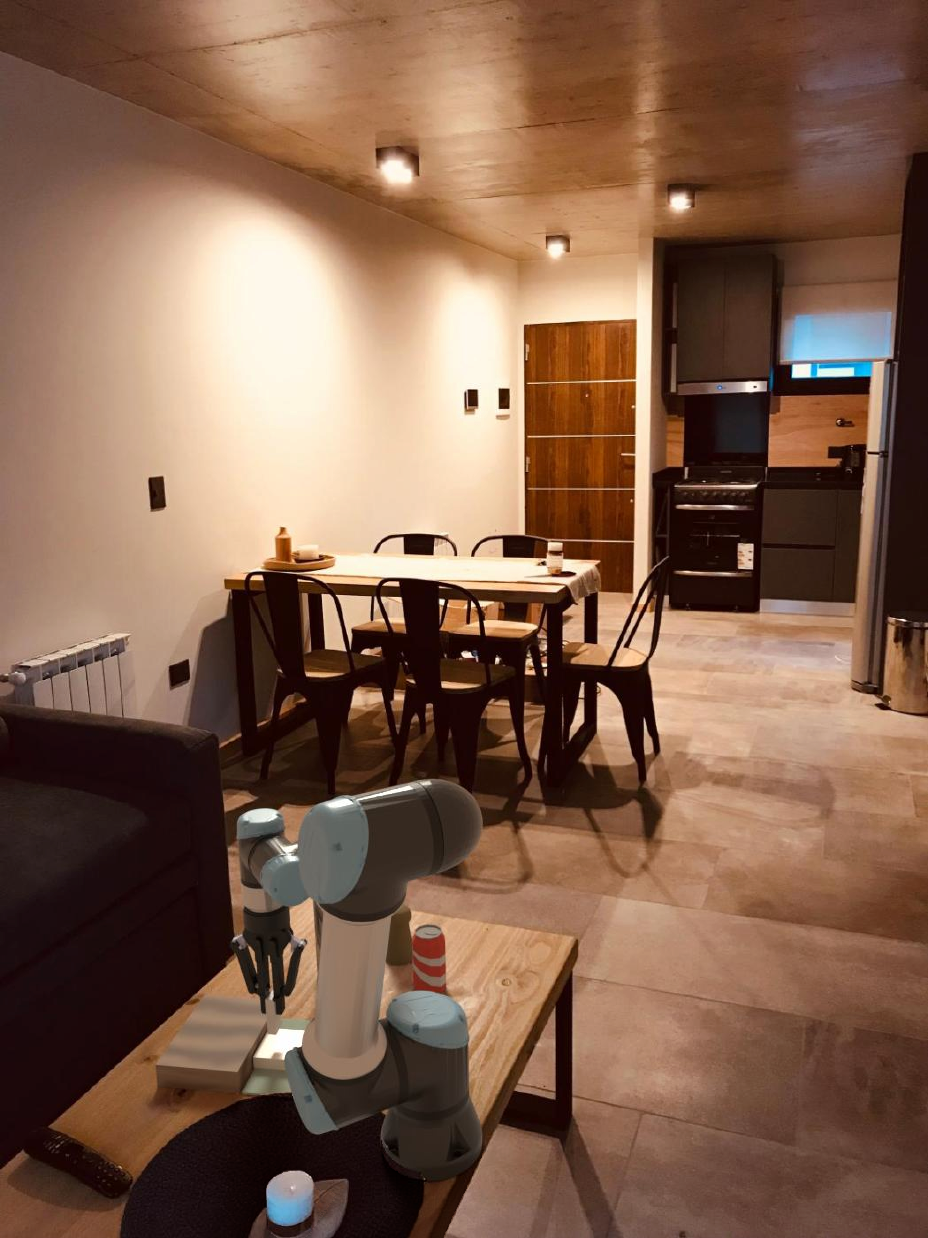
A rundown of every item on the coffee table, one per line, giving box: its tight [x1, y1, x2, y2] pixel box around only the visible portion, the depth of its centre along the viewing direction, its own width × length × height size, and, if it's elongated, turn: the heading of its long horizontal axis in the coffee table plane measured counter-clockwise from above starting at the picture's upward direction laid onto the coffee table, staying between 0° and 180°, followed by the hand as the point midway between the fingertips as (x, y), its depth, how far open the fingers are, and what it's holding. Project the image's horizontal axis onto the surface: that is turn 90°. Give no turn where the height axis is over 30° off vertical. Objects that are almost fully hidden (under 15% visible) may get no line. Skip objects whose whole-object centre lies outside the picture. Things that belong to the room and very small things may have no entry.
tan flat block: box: [155, 994, 267, 1094], centre depth 175 cm, size 20×14×4 cm
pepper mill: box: [386, 903, 413, 967], centre depth 202 cm, size 6×6×11 cm
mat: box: [241, 1017, 312, 1096], centre depth 173 cm, size 20×15×1 cm
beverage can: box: [411, 923, 447, 994], centre depth 191 cm, size 6×6×12 cm
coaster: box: [253, 1029, 304, 1070], centre depth 173 cm, size 8×8×2 cm
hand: (274, 1029), depth 173 cm, fingers closed
